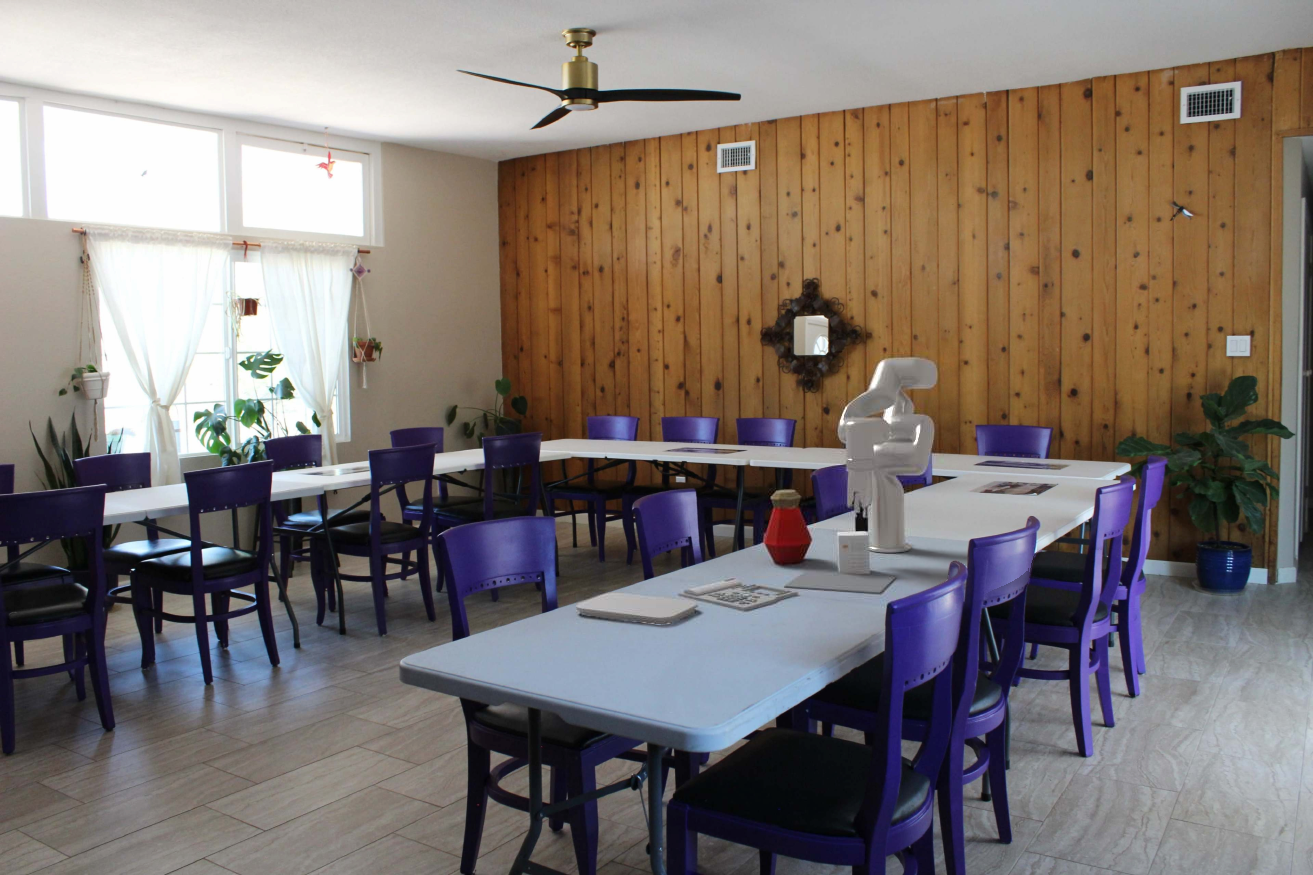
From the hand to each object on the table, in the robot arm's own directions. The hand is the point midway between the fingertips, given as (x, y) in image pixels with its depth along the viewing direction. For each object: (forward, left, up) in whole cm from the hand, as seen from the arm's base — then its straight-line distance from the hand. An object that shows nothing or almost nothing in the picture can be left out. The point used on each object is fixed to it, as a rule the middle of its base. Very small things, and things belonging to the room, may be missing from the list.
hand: (861, 531), depth 268 cm
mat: (+23, 0, -9) cm, 25 cm away
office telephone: (+43, -20, -10) cm, 48 cm away
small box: (+10, 0, -9) cm, 14 cm away
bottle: (+1, -21, -9) cm, 23 cm away
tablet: (+65, -37, -10) cm, 75 cm away
